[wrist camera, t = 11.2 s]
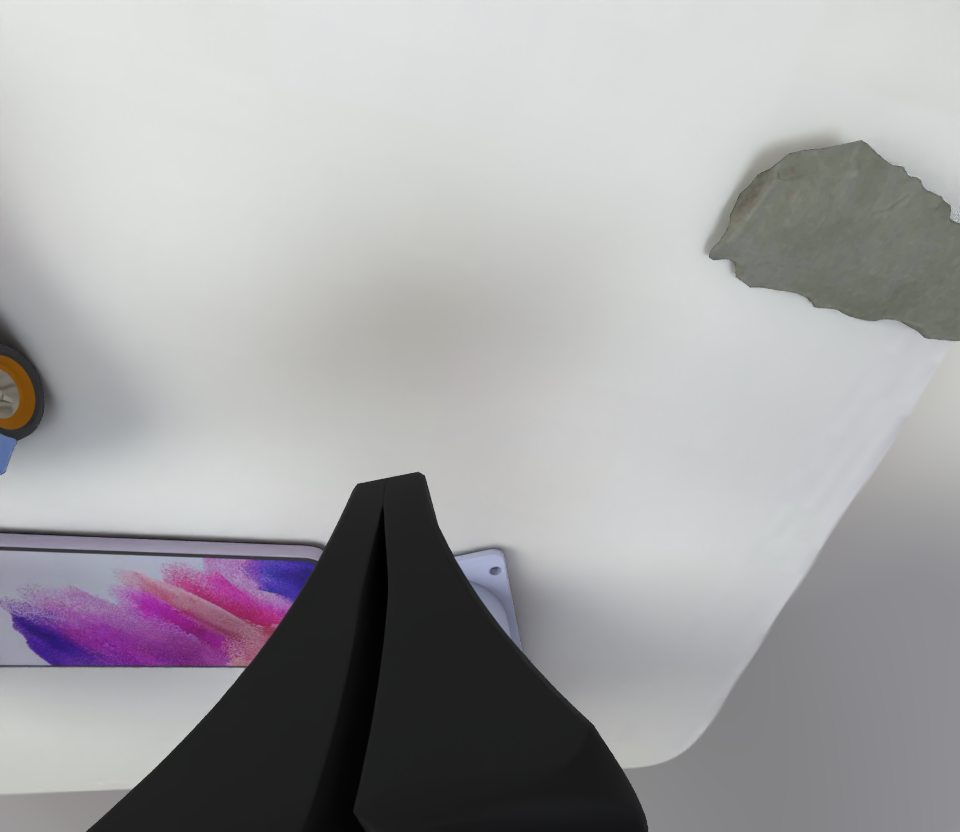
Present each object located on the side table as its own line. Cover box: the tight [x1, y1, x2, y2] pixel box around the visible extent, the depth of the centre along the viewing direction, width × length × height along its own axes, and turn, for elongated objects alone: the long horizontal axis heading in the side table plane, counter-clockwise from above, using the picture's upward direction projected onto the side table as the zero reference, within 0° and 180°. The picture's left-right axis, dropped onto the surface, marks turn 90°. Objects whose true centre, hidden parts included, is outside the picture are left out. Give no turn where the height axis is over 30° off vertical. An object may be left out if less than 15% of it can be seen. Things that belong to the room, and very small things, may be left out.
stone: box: [709, 140, 960, 341], centre depth 20 cm, size 13×2×5 cm
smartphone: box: [0, 533, 323, 668], centre depth 25 cm, size 7×1×15 cm
